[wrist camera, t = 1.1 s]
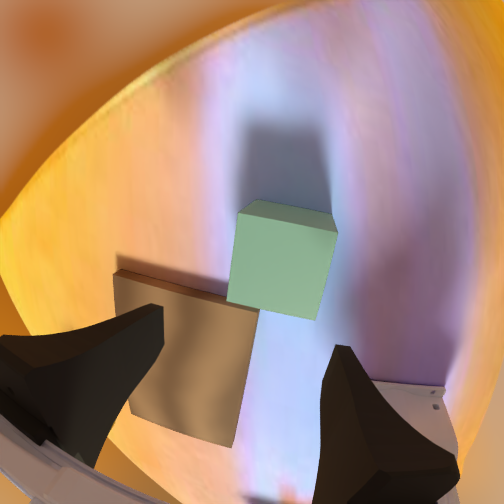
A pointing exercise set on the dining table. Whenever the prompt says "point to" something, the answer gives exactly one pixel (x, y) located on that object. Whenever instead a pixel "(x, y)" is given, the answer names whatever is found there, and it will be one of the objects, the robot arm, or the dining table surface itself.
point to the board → (192, 358)
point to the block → (281, 258)
